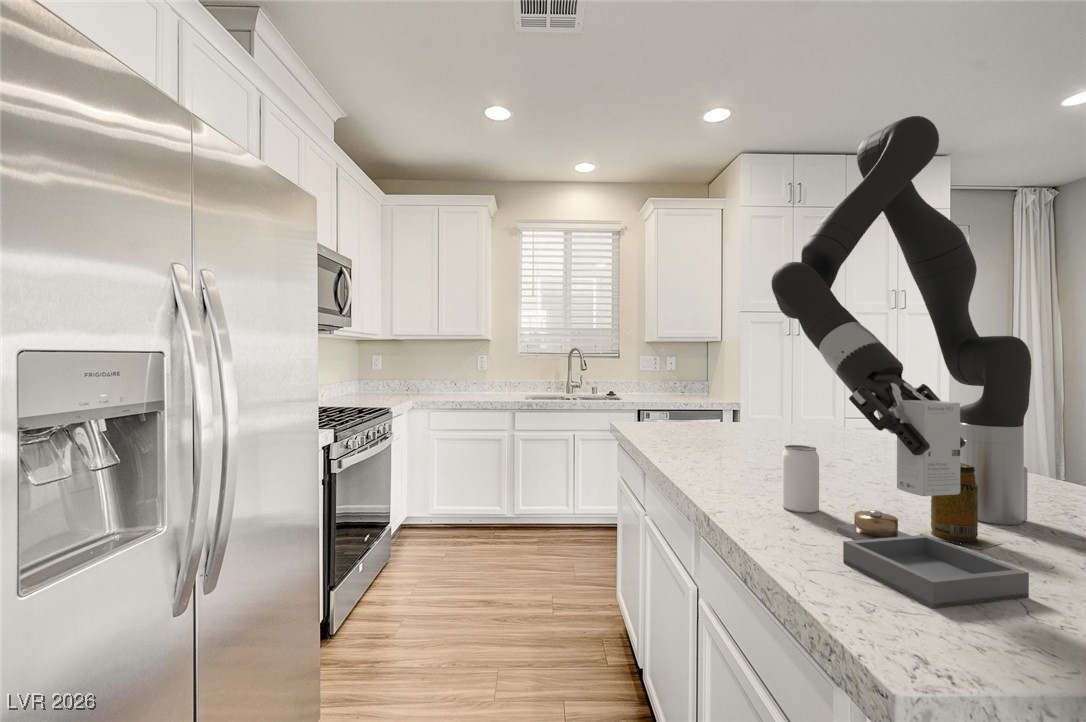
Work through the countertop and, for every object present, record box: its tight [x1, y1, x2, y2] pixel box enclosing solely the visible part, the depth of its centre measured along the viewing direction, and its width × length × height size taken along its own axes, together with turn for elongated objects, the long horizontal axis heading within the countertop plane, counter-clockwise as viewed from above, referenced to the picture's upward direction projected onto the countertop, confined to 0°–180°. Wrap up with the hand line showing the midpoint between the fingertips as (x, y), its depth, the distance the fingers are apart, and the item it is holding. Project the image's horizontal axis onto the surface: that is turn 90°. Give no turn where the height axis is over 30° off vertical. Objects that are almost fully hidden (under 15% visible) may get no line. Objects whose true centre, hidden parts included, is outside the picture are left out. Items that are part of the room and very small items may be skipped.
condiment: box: [919, 463, 1003, 550], centre depth 85 cm, size 7×8×12 cm
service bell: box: [835, 509, 912, 540], centre depth 86 cm, size 8×8×4 cm
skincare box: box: [896, 400, 961, 497], centre depth 70 cm, size 6×4×12 cm
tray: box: [842, 534, 1030, 609], centre depth 70 cm, size 14×14×3 cm
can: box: [781, 444, 820, 514], centre depth 102 cm, size 6×6×12 cm
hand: (941, 449), depth 68 cm, fingers closed on skincare box, 6 cm apart
